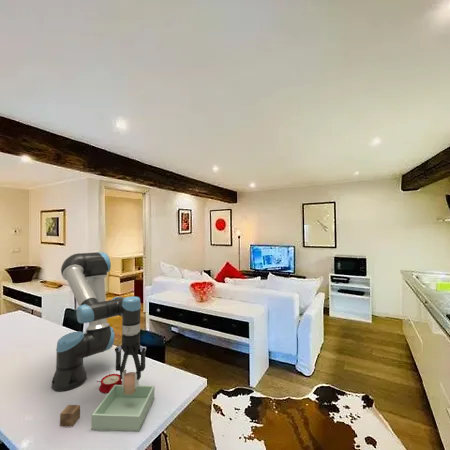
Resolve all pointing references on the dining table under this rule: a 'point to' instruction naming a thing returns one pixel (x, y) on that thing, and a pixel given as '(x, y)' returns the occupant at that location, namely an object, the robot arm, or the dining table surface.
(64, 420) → the walnut cube
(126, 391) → the terracotta canister
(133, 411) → the tray
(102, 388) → the alarm clock
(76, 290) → the robot arm
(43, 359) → the dining table surface
